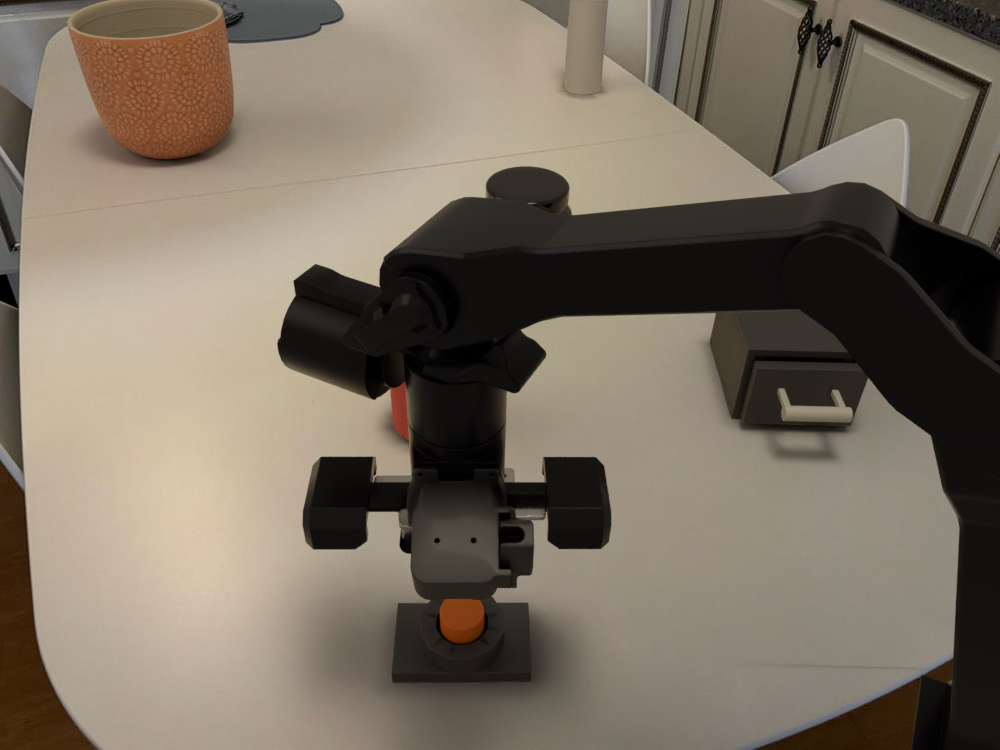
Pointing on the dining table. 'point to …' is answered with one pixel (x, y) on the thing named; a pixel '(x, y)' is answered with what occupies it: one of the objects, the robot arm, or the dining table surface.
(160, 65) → the planter
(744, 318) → the small storage cabinet
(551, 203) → the supplement container
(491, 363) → the robot arm
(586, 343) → the dining table surface
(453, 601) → the button
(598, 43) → the bottle
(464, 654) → the control block
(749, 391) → the drawer
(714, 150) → the dining table surface
